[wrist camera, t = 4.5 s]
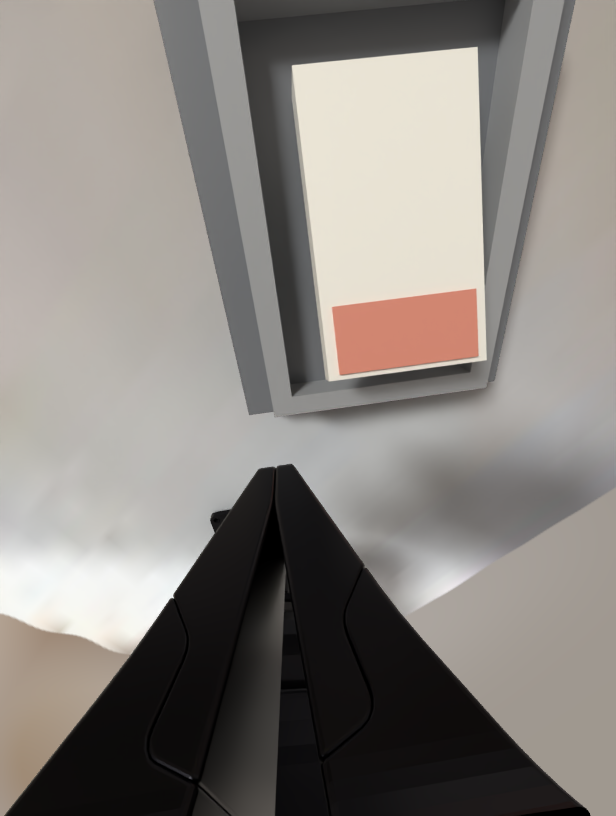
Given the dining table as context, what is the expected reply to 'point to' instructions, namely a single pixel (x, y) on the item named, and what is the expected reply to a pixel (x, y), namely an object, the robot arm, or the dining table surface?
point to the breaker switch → (394, 209)
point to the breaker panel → (281, 177)
